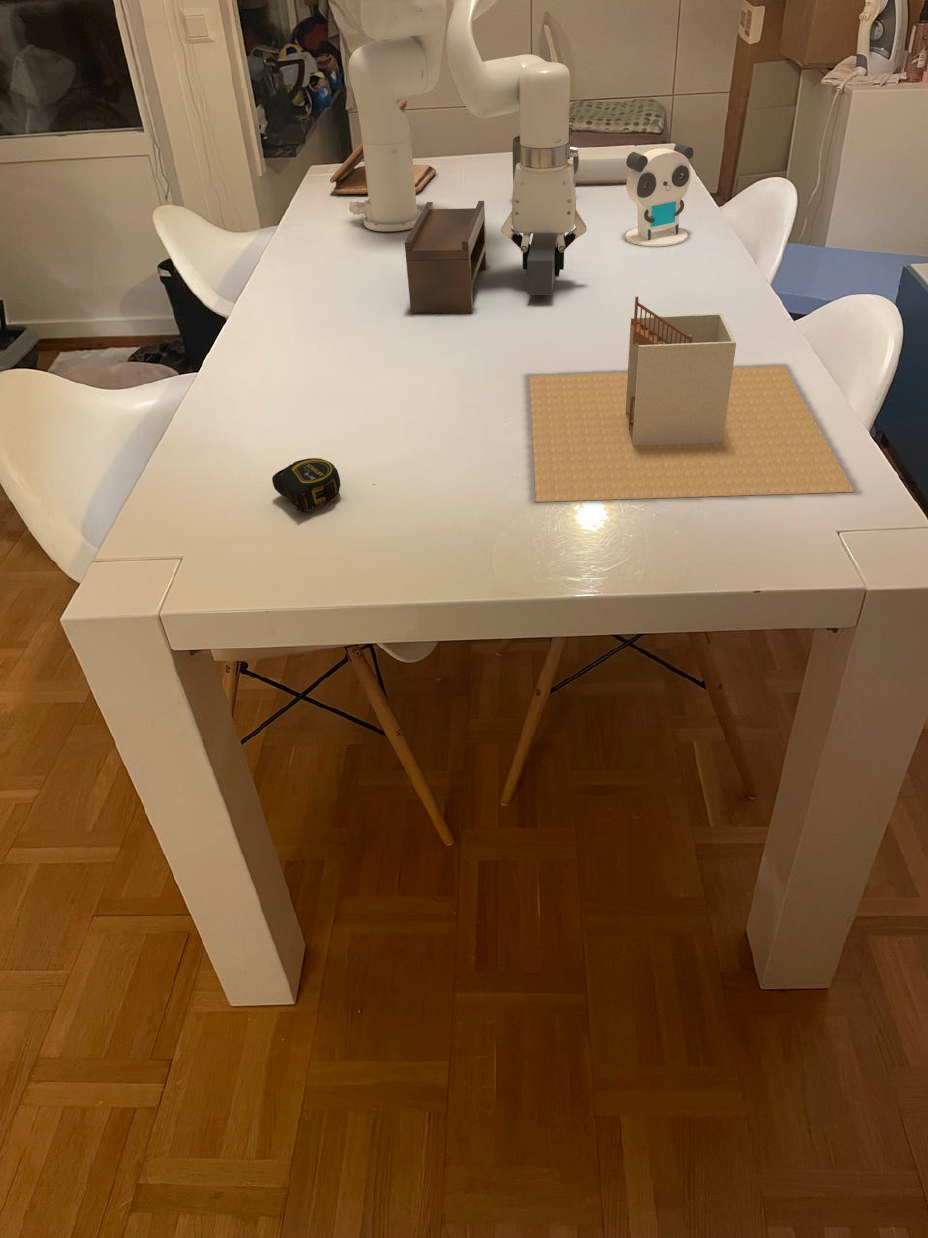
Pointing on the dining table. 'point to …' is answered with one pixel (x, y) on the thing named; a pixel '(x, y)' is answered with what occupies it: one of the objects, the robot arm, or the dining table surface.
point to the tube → (602, 171)
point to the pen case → (541, 264)
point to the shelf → (445, 259)
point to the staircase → (677, 423)
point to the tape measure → (308, 483)
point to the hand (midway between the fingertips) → (543, 272)
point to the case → (355, 178)
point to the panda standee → (658, 194)
